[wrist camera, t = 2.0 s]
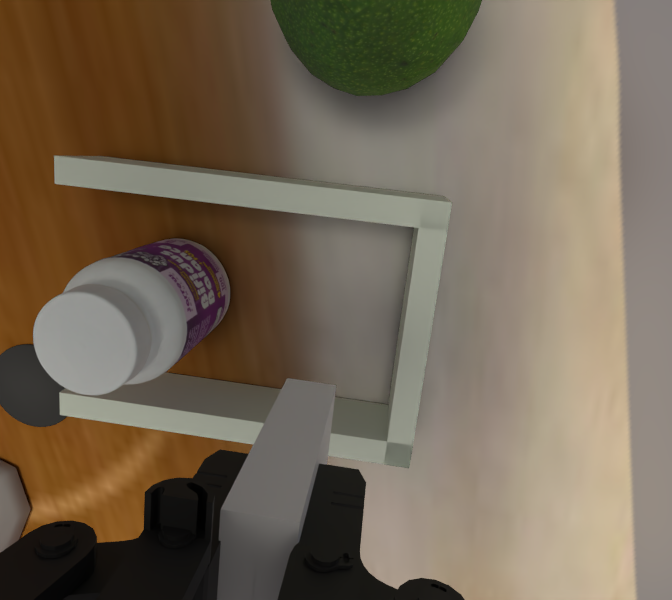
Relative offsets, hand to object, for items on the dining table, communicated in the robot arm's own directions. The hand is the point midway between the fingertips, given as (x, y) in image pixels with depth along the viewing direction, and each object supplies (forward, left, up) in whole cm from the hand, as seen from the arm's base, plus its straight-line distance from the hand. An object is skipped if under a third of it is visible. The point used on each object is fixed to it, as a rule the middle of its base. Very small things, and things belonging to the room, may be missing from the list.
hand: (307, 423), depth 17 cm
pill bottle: (0, -9, -13) cm, 15 cm away
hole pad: (+7, -17, -12) cm, 22 cm away
